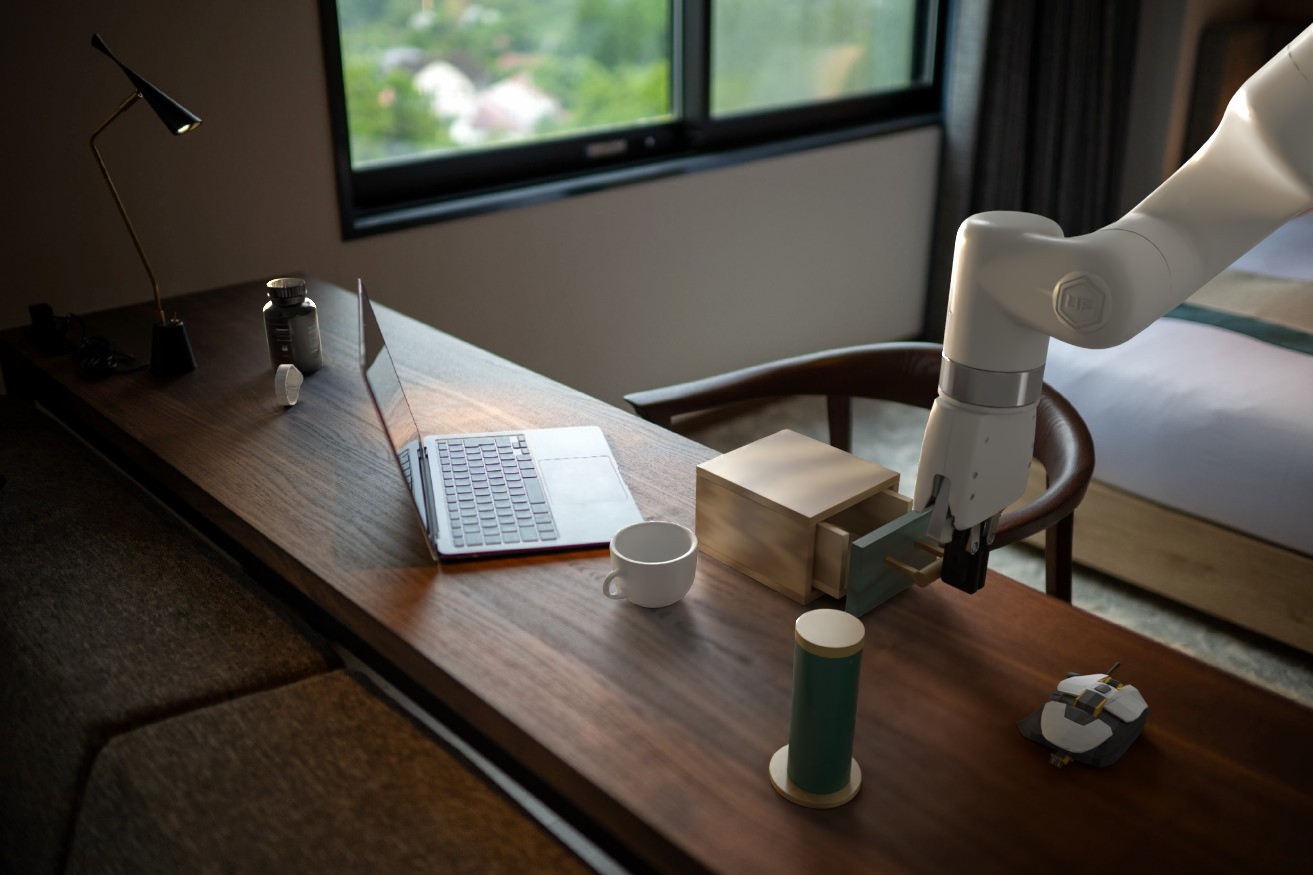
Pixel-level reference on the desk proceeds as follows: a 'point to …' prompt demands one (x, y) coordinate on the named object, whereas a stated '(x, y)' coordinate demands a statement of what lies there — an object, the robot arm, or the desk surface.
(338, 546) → the desk surface
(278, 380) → the white thick rounded piece
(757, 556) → the cabinet
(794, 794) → the coaster
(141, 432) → the desk surface
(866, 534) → the drawer
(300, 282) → the supplement bottle
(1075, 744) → the computer mouse
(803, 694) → the tin
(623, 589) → the teacup
